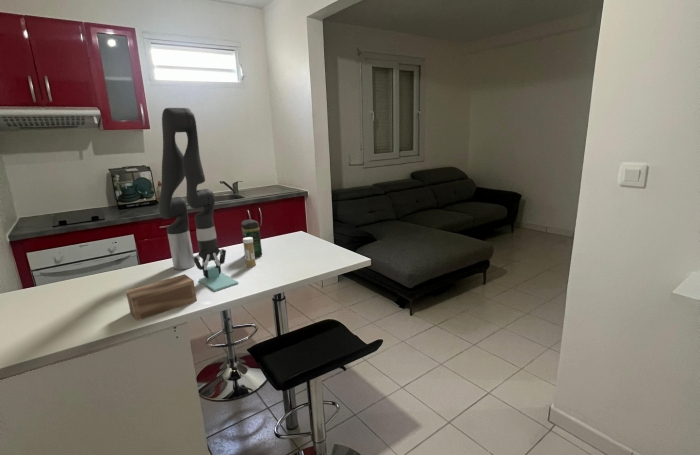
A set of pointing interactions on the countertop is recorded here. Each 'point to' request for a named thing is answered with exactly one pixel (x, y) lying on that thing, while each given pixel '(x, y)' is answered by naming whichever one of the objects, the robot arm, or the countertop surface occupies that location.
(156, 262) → the countertop surface
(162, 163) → the robot arm
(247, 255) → the sprinkles bottle
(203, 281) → the cover plate
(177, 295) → the brown wooden block
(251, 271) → the countertop surface
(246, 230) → the coffee jar
